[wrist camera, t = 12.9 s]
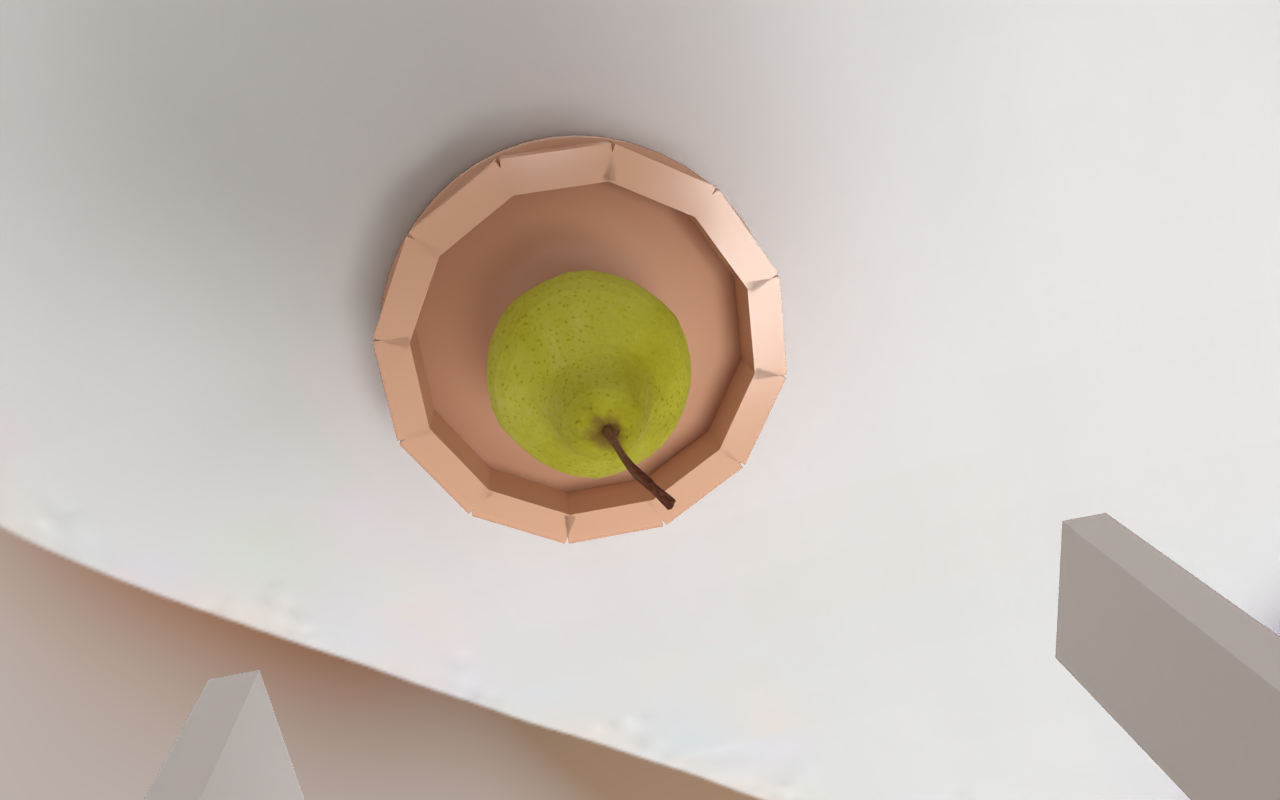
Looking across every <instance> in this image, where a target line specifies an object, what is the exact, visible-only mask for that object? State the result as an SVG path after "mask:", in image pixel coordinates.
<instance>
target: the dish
mask: <svg viewBox="0 0 1280 800" xmlns="http://www.w3.org/2000/svg"><path fill="white" fill-rule="evenodd" d="M585 270H592V271H598V272H604V273H610V274H614V275H617V276H619V277H622V278H625V279H628V280H631V281H633V282H634V283H636V284H638V285H639V286H641V287H642V288H644V289H645V290H647V291H648V292H650V293H651V294H652V295H654V296H655V297H656V298H658V299H659V300H660V301H662V302H663V303H664V304H665V305H666V306H667V307H668V308H669V309H670V310H671V311H672V312H673V313H674V314H675V315H676V317H677V319H678V321H679V323H680V326H681V328H682V330H683V332H684V335H685V337H686V340H687V344H688V349H689V354H690V361H691V383H690V389H689V395H688V398H687V402H686V405H685V408H684V411H683V413H682V415H681V418H680V420H679V422H678V424H677V426H676V428H675V429H674V431H673V432H672V433H671V435H670V436H669V437H668V439H667V440H666V441H665V443H664V444H663V445H662V447H661V448H659V449H658V450H657V451H656V452H655V453H653V454H652V455H651V456H650V457H649V458H647V459H645V460H643V461H642V462H640V463H638V464H636V466H638V467H639V468H640V469H641V470H642V471H643V472H644V473H646V474H647V475H648V476H649V477H650V478H652V480H653V481H654V482H655V483H656V484H657V485H658V486H659V487H660V488H661V489H663V490H664V491H665V492H667V493H668V494H669V495H670V496H672V497H673V498H674V499H675V500H676V502H675V504H674V506H673V508H672V509H670V510H667V509H666V508H665V507H664V506H663V504H662V503H661V502H660V501H659V500H658V499H657V498H656V497H655V496H654V495H653V494H652V493H651V492H650V491H649V490H647V489H646V488H645V487H644V486H643V485H641V484H640V483H639V482H638V481H637V480H636V479H634V477H633V476H632V475H631V474H630V472H629V471H628V470H627V469H626V470H624V471H622V472H620V473H618V474H615V475H611V476H606V477H602V478H598V479H597V478H587V477H578V476H572V475H569V474H566V473H563V472H560V471H557V470H554V469H553V468H551V467H549V466H547V465H545V464H543V463H541V462H539V461H538V460H537V459H535V458H534V457H533V456H531V455H530V454H529V453H528V452H526V451H525V450H524V449H523V448H522V447H521V446H520V445H518V444H517V443H516V442H515V441H514V440H513V439H512V438H511V437H510V436H509V435H508V434H507V433H506V432H505V431H504V430H503V429H502V428H501V427H500V425H499V423H498V421H497V418H496V416H495V414H494V412H493V410H492V406H491V402H490V397H489V392H488V388H487V359H488V351H489V343H490V341H491V338H492V336H493V333H494V331H495V328H496V326H497V324H498V321H499V319H500V317H501V316H502V314H503V313H504V312H505V310H506V309H507V307H508V306H509V304H510V303H511V302H512V301H514V300H515V299H517V298H518V297H519V296H521V295H522V294H524V293H525V292H526V291H528V290H530V289H532V288H533V287H535V286H537V285H539V284H541V283H543V282H544V281H546V280H549V279H551V278H554V277H556V276H558V275H561V274H563V273H566V272H573V271H585ZM776 274H778V272H777V271H776V269H775V268H774V266H773V265H772V264H771V262H770V261H769V259H768V258H767V256H766V255H765V254H764V252H763V251H762V249H761V248H760V247H759V245H758V244H757V242H756V241H755V240H754V238H753V237H752V235H751V233H750V232H749V230H748V228H747V227H746V225H745V224H744V222H743V220H742V219H741V218H740V216H739V215H738V214H737V213H736V211H735V210H734V209H733V208H732V207H731V205H730V204H729V203H728V201H727V200H726V199H725V197H724V196H723V194H722V193H721V192H720V190H719V189H717V188H715V186H713V185H711V184H709V183H708V182H707V181H705V180H704V179H702V178H701V177H700V176H698V175H697V174H695V173H694V172H692V171H691V170H690V169H688V168H687V167H685V166H684V165H682V164H680V163H678V162H676V161H674V160H672V159H670V158H668V157H666V156H664V155H662V154H660V153H658V152H655V151H652V150H649V149H646V148H643V147H641V146H638V145H635V144H632V143H629V142H626V141H621V140H616V139H611V138H606V137H599V136H583V135H569V136H556V137H547V138H542V139H538V140H533V141H528V142H523V143H521V144H518V145H515V146H512V147H510V148H507V149H504V150H501V151H499V152H497V153H495V154H493V155H491V156H489V157H487V158H485V159H483V160H482V161H480V162H478V163H476V164H474V165H473V166H472V167H470V168H469V169H467V170H466V171H465V172H463V173H462V174H460V175H459V176H458V177H456V178H455V179H454V180H453V181H451V182H450V183H449V184H448V185H447V186H446V187H445V188H444V189H443V190H442V191H441V192H440V193H439V194H438V195H437V196H436V197H435V198H434V199H433V200H432V201H431V203H430V204H429V205H428V206H427V208H426V209H425V210H424V211H423V213H422V214H421V215H420V216H419V218H418V219H417V220H416V222H415V223H414V224H413V225H412V227H411V229H410V231H409V232H408V234H407V236H406V237H405V239H404V241H403V243H402V244H401V246H400V248H399V250H398V252H397V255H396V257H395V260H394V262H393V265H392V267H391V269H390V272H389V275H388V279H387V283H386V287H385V291H384V295H383V299H382V308H381V315H380V318H379V321H378V324H377V327H376V330H375V333H374V336H373V338H375V339H374V341H373V345H374V349H375V353H376V357H377V361H378V365H379V369H380V373H381V377H382V381H383V385H384V389H385V393H386V397H387V401H388V405H389V409H390V413H391V417H392V421H393V425H394V429H395V433H396V437H397V441H398V440H401V441H400V445H401V446H402V447H403V448H404V449H405V450H406V451H407V452H408V453H409V454H410V455H411V456H412V457H413V458H414V459H415V460H416V461H417V462H418V463H419V464H420V465H421V466H422V467H423V468H424V469H425V470H426V471H427V472H428V473H429V474H430V475H431V476H432V477H433V478H434V479H435V480H436V481H437V482H438V483H439V484H440V485H441V486H442V487H443V488H444V489H445V491H446V492H447V493H448V494H449V495H450V496H451V497H452V498H453V499H454V500H455V501H456V502H457V503H458V504H459V505H460V506H461V507H462V508H463V509H464V510H465V511H466V512H467V513H468V514H469V513H470V512H472V511H473V513H472V516H474V517H478V518H481V519H484V520H488V521H491V522H494V523H498V524H501V525H505V526H508V527H511V528H515V529H518V530H521V531H525V532H528V533H531V534H535V535H538V536H542V537H545V538H548V539H552V540H555V541H558V542H562V543H565V542H566V539H567V537H568V542H569V543H575V542H580V541H586V540H591V539H597V538H602V537H607V536H613V535H618V534H624V533H629V532H635V531H640V530H646V529H651V528H657V527H662V526H663V523H662V520H663V521H664V522H665V524H666V525H667V524H668V523H670V522H671V521H672V520H674V519H675V518H676V517H678V516H679V515H680V514H681V513H683V512H684V511H685V510H687V509H688V508H689V507H691V506H692V505H693V504H695V503H696V502H697V501H699V500H700V499H701V498H703V497H704V496H705V495H707V494H708V493H709V492H711V491H712V490H713V489H715V488H716V487H717V486H719V485H720V484H721V483H723V482H724V481H725V480H727V479H728V478H729V477H731V476H732V475H733V474H735V473H736V472H737V471H739V470H740V469H741V468H743V467H742V466H741V464H740V463H742V464H746V461H747V459H748V457H749V455H750V453H751V451H752V449H753V447H754V445H755V442H756V440H757V438H758V436H759V434H760V432H761V430H762V428H763V426H764V423H765V421H766V419H767V417H768V415H769V413H770V411H771V409H772V407H773V404H774V402H775V400H776V398H777V396H778V394H779V392H780V390H781V388H782V385H783V383H784V381H785V379H786V378H785V377H784V376H783V375H785V374H787V372H786V358H785V344H784V331H783V317H782V303H781V290H780V277H779V276H777V275H776Z"/></svg>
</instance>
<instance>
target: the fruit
mask: <svg viewBox="0 0 1280 800" xmlns="http://www.w3.org/2000/svg"><path fill="white" fill-rule="evenodd" d="M690 383H691V361H690V354H689V349H688V344H687V340H686V337H685V335H684V332H683V330H682V328H681V326H680V323H679V321H678V319H677V317H676V315H675V314H674V313H673V312H672V311H671V310H670V309H669V308H668V307H667V306H666V305H665V304H664V303H663V302H662V301H660V300H659V299H658V298H656V297H655V296H654V295H652V294H651V293H650V292H648V291H647V290H645V289H644V288H642V287H641V286H639V285H638V284H636V283H634V282H633V281H631V280H628V279H625V278H622V277H619V276H617V275H614V274H610V273H604V272H598V271H592V270H585V271H573V272H566V273H563V274H561V275H558V276H556V277H554V278H551V279H549V280H546V281H544V282H543V283H541V284H539V285H537V286H535V287H533V288H532V289H530V290H528V291H526V292H525V293H524V294H522V295H521V296H519V297H518V298H517V299H515V300H514V301H512V302H511V303H510V304H509V306H508V307H507V309H506V310H505V312H504V313H503V314H502V316H501V317H500V319H499V321H498V324H497V326H496V328H495V331H494V333H493V336H492V338H491V341H490V343H489V351H488V359H487V388H488V392H489V397H490V402H491V406H492V410H493V412H494V414H495V416H496V418H497V421H498V423H499V425H500V427H501V428H502V429H503V430H504V431H505V432H506V433H507V434H508V435H509V436H510V437H511V438H512V439H513V440H514V441H515V442H516V443H517V444H518V445H520V446H521V447H522V448H523V449H524V450H525V451H526V452H528V453H529V454H530V455H531V456H533V457H534V458H535V459H537V460H538V461H539V462H541V463H543V464H545V465H547V466H549V467H551V468H553V469H554V470H557V471H560V472H563V473H566V474H569V475H572V476H578V477H587V478H597V479H598V478H602V477H606V476H611V475H615V474H618V473H620V472H622V471H624V470H626V469H627V470H628V471H629V472H630V474H631V475H632V476H633V477H634V479H636V480H637V481H638V482H639V483H640V484H641V485H643V486H644V487H645V488H646V489H647V490H649V491H650V492H651V493H652V494H653V495H654V496H655V497H656V498H657V499H658V500H659V501H660V502H661V503H662V504H663V506H664V507H665V508H666V509H667V510H670V509H672V508H673V506H674V504H675V502H676V500H675V499H674V498H673V497H672V496H670V495H669V494H668V493H667V492H665V491H664V490H663V489H661V488H660V487H659V486H658V485H657V484H656V483H655V482H654V481H653V480H652V478H650V477H649V476H648V475H647V474H646V473H644V472H643V471H642V470H641V469H640V468H639V467H638V466H636V464H638V463H640V462H642V461H643V460H645V459H647V458H649V457H650V456H651V455H652V454H653V453H655V452H656V451H657V450H658V449H659V448H661V447H662V445H663V444H664V443H665V441H666V440H667V439H668V437H669V436H670V435H671V433H672V432H673V431H674V429H675V428H676V426H677V424H678V422H679V420H680V418H681V415H682V413H683V411H684V408H685V405H686V402H687V398H688V395H689V389H690Z"/></svg>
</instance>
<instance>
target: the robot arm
mask: <svg viewBox="0 0 1280 800" xmlns="http://www.w3.org/2000/svg"><path fill="white" fill-rule="evenodd" d="M1056 659H1057V660H1058V661H1059V662H1060V663H1061V664H1062V665H1063V666H1064V667H1065V668H1066V669H1067V670H1068V671H1069V672H1070V673H1071V674H1072V675H1073V676H1074V677H1075V678H1076V680H1077V681H1078V682H1079V683H1080V684H1081V685H1082V686H1083V687H1084V688H1085V689H1086V690H1087V691H1088V692H1089V693H1090V694H1091V695H1092V696H1093V697H1094V698H1095V700H1096V701H1097V702H1098V703H1099V704H1100V705H1101V706H1102V707H1103V708H1104V709H1105V710H1106V711H1107V712H1108V713H1109V714H1110V715H1111V716H1112V717H1113V718H1114V719H1115V721H1116V722H1117V723H1118V724H1119V725H1120V726H1121V727H1122V728H1123V729H1124V730H1125V731H1126V732H1127V733H1128V734H1129V735H1130V736H1131V737H1132V738H1133V739H1134V740H1135V742H1136V743H1137V744H1138V745H1139V746H1140V747H1141V748H1142V749H1143V750H1144V751H1145V752H1146V753H1147V754H1148V755H1149V756H1150V757H1151V758H1152V759H1153V760H1154V762H1155V763H1156V764H1157V765H1158V766H1159V767H1160V768H1161V769H1162V770H1163V771H1164V772H1165V773H1166V774H1167V775H1168V776H1169V777H1170V778H1171V779H1172V780H1173V781H1174V783H1175V784H1176V785H1177V786H1178V787H1179V788H1180V789H1181V790H1182V791H1183V792H1184V793H1185V794H1186V795H1187V796H1188V797H1189V798H1190V799H1191V800H1280V637H1279V636H1278V635H1276V634H1275V633H1274V632H1272V631H1271V630H1269V629H1268V628H1267V627H1265V626H1264V625H1262V624H1261V623H1260V622H1258V621H1257V620H1255V619H1254V618H1252V617H1251V616H1250V615H1248V614H1247V613H1245V612H1244V611H1243V610H1241V609H1240V608H1238V607H1237V606H1236V605H1234V604H1233V603H1231V602H1230V601H1229V600H1227V599H1226V598H1224V597H1223V596H1222V595H1220V594H1219V593H1217V592H1216V591H1215V590H1213V589H1212V588H1210V587H1209V586H1208V585H1206V584H1205V583H1203V582H1202V581H1201V580H1199V579H1198V578H1196V577H1195V576H1194V575H1192V574H1191V573H1189V572H1188V571H1187V570H1185V569H1184V568H1182V567H1181V566H1180V565H1178V564H1177V563H1175V562H1174V561H1172V560H1171V559H1170V558H1168V557H1167V556H1165V555H1164V554H1163V553H1161V552H1160V551H1158V550H1157V549H1156V548H1154V547H1153V546H1151V545H1150V544H1149V543H1147V542H1146V541H1144V540H1143V539H1142V538H1140V537H1139V536H1137V535H1136V534H1135V533H1133V532H1132V531H1130V530H1129V529H1128V528H1126V527H1125V526H1123V525H1122V524H1121V523H1119V522H1118V521H1116V520H1115V519H1114V518H1112V517H1111V516H1109V515H1108V514H1107V513H1103V514H1098V515H1092V516H1087V517H1081V518H1076V519H1071V520H1065V521H1062V540H1061V559H1060V579H1059V599H1058V618H1057V638H1056ZM144 800H304V797H303V794H302V791H301V788H300V786H299V783H298V780H297V777H296V774H295V771H294V768H293V765H292V762H291V759H290V757H289V754H288V751H287V748H286V745H285V742H284V739H283V736H282V734H281V731H280V728H279V725H278V722H277V719H276V717H275V714H274V711H273V708H272V705H271V702H270V699H269V696H268V693H267V690H266V688H265V685H264V682H263V679H262V676H261V673H260V670H257V671H252V672H247V673H241V674H236V675H230V676H225V677H219V678H214V679H209V680H208V682H207V684H206V686H205V687H204V689H203V691H202V693H201V695H200V697H199V699H198V700H197V702H196V704H195V706H194V708H193V710H192V711H191V713H190V715H189V717H188V719H187V721H186V723H185V725H184V726H183V728H182V730H181V732H180V734H179V736H178V737H177V740H176V741H175V743H174V745H173V747H172V748H171V750H170V752H169V754H168V756H167V758H166V760H165V762H164V763H163V765H162V767H161V769H160V771H159V773H158V774H157V776H156V778H155V780H154V782H153V784H152V786H151V787H150V789H149V791H148V793H147V795H146V797H145V799H144Z"/></svg>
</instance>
